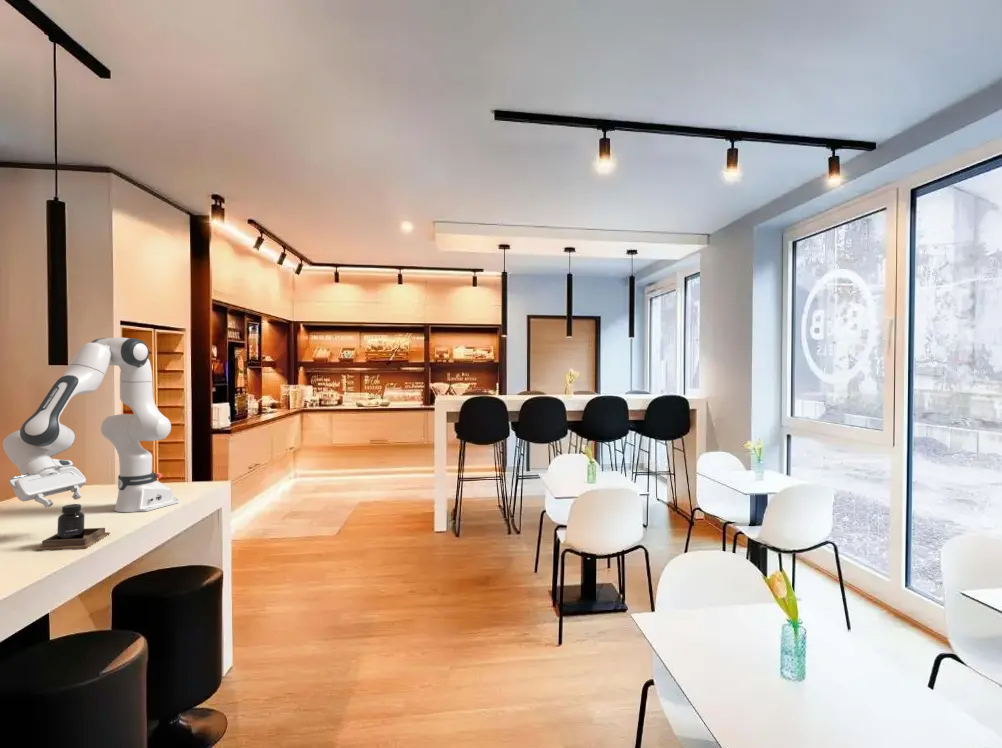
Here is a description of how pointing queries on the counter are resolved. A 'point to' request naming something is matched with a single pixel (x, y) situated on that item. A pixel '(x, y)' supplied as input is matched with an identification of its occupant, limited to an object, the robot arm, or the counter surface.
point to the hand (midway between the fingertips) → (64, 501)
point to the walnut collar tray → (74, 540)
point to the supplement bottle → (71, 523)
